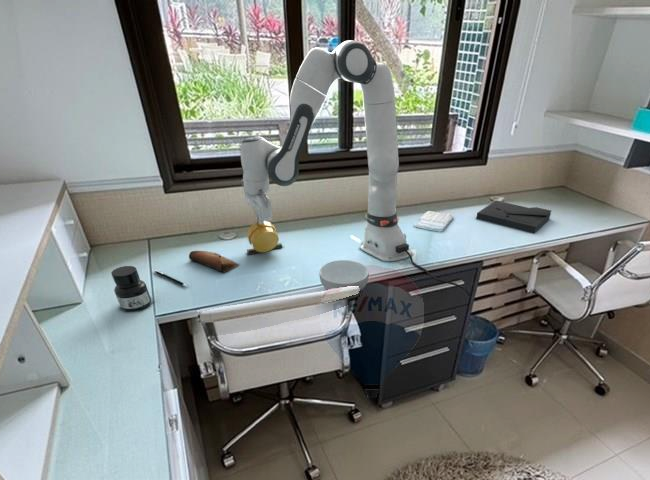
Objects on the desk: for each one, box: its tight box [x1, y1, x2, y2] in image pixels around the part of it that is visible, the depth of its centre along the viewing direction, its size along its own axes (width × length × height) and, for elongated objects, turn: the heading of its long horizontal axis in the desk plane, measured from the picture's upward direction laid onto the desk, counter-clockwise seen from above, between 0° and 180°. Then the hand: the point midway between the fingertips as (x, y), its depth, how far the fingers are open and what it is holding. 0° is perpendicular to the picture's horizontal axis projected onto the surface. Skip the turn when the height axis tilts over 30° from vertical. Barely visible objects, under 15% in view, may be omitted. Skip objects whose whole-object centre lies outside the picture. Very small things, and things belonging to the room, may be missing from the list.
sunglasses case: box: [188, 250, 239, 273], centre depth 152 cm, size 18×7×7 cm
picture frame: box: [475, 200, 552, 234], centre depth 197 cm, size 23×4×28 cm
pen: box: [153, 269, 188, 287], centre depth 142 cm, size 1×19×1 cm, turn 56°
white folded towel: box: [414, 210, 454, 233], centre depth 191 cm, size 13×20×2 cm, turn 155°
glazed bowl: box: [246, 220, 280, 253], centre depth 157 cm, size 11×11×6 cm
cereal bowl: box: [318, 259, 370, 291], centre depth 138 cm, size 17×17×7 cm
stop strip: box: [246, 242, 283, 255], centre depth 163 cm, size 1×14×2 cm, turn 120°
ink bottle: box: [111, 265, 152, 312], centre depth 126 cm, size 10×9×12 cm
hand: (260, 223), depth 153 cm, fingers closed
